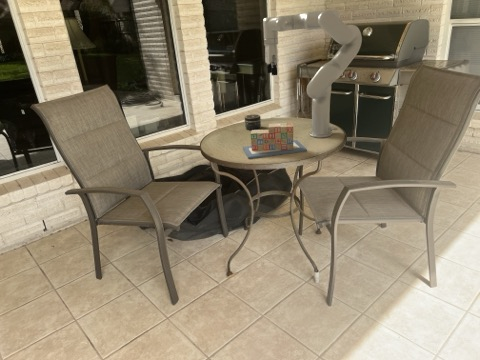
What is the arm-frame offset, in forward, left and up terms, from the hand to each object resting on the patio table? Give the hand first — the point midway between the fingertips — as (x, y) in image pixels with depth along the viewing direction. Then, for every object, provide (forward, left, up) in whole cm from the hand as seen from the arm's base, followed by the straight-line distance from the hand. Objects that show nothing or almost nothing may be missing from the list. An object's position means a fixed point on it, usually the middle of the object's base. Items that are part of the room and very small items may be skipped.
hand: (272, 74), depth 209 cm
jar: (+11, -11, -34) cm, 37 cm away
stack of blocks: (+10, +33, -32) cm, 47 cm away
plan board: (+9, +33, -33) cm, 48 cm away
